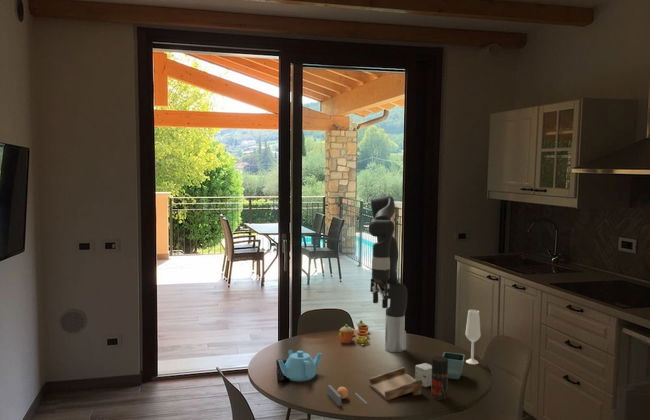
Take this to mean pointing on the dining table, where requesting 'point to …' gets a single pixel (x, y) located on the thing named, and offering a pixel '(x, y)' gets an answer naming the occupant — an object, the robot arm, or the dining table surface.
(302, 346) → the dining table surface
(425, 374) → the skincare box
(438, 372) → the deodorant
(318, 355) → the teapot
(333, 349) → the dining table surface
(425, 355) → the dining table surface
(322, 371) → the dining table surface
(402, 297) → the robot arm
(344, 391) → the ball
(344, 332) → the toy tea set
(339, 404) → the rail
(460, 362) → the flower pot
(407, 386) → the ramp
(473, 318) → the champagne flute
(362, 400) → the grey thin rod
